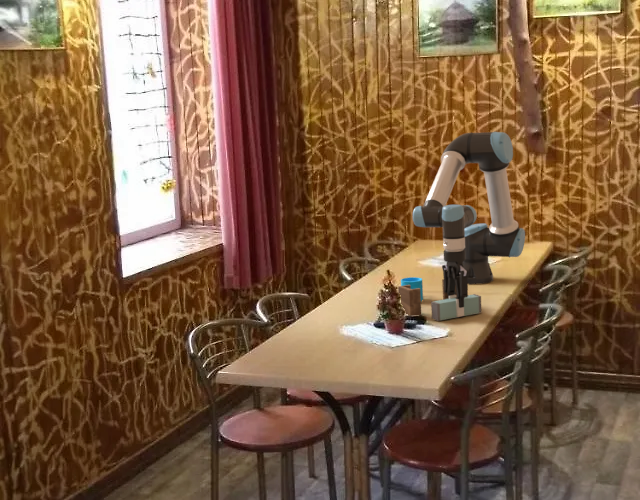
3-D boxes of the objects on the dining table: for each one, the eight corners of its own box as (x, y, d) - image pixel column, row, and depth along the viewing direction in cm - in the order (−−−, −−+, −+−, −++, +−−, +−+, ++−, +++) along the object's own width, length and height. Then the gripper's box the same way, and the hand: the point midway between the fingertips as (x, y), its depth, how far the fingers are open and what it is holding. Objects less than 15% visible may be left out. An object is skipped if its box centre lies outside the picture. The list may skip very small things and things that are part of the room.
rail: (475, 310, 335) (474, 294, 334) (481, 312, 332) (481, 296, 330) (431, 318, 328) (431, 301, 327) (437, 320, 324) (437, 304, 323)
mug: (417, 303, 353) (417, 282, 352) (398, 302, 357) (397, 281, 356) (430, 296, 363) (429, 275, 362) (411, 295, 367) (410, 274, 366)
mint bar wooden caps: (453, 304, 349) (452, 277, 347) (465, 308, 342) (464, 281, 340) (399, 313, 340) (398, 286, 338) (410, 317, 332) (409, 290, 331)
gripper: (432, 247, 332) (434, 311, 336) (458, 254, 316) (460, 321, 321) (450, 244, 335) (452, 308, 339) (477, 251, 319) (479, 318, 324)
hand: (456, 314), depth 330 cm, fingers closed on rail, 4 cm apart
